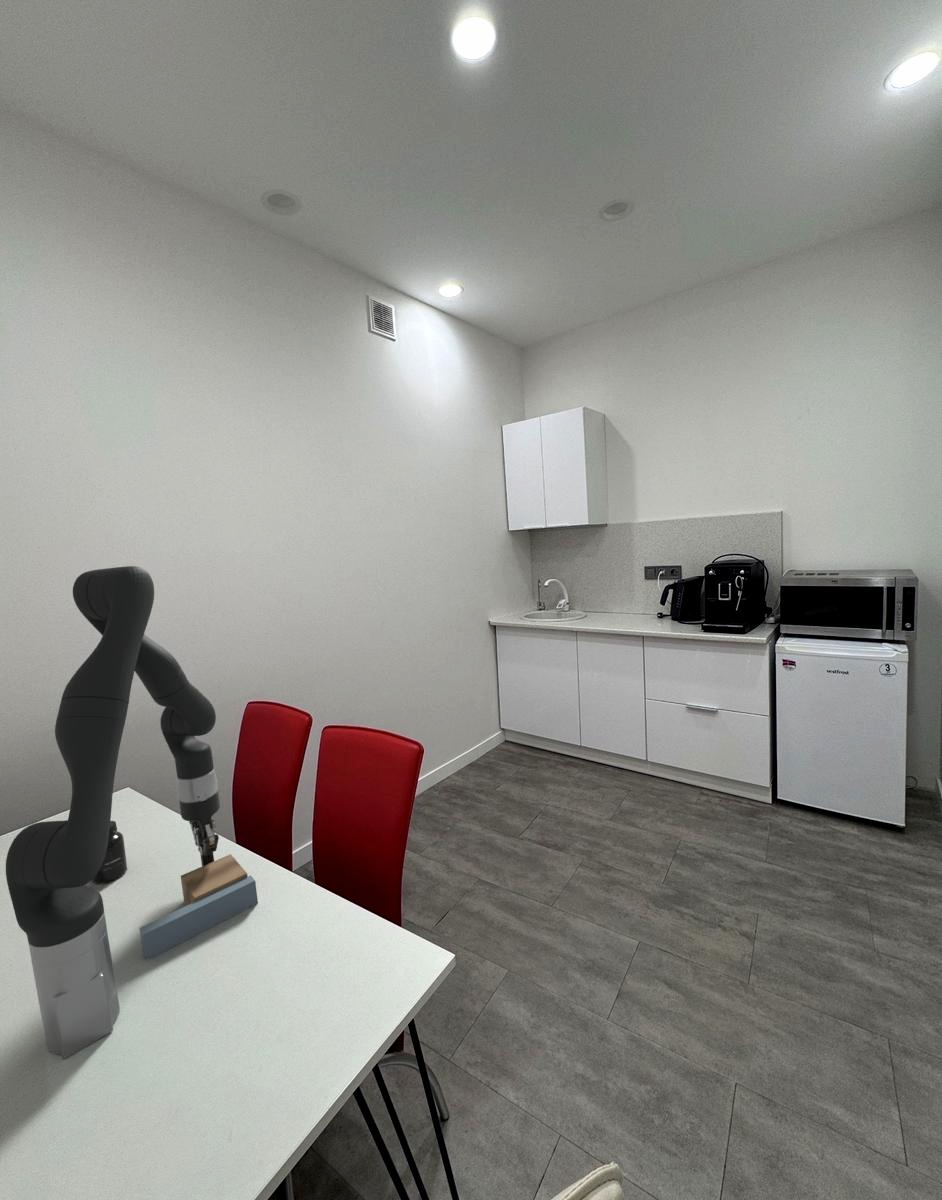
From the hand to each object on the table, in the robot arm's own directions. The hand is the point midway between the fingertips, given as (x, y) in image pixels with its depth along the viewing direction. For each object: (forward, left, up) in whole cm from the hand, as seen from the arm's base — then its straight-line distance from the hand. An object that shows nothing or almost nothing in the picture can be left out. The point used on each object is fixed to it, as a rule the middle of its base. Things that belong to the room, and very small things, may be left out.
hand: (208, 866), depth 115 cm
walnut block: (-7, +1, -4) cm, 8 cm away
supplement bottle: (+21, +15, -4) cm, 26 cm away
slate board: (-14, +5, -4) cm, 15 cm away
